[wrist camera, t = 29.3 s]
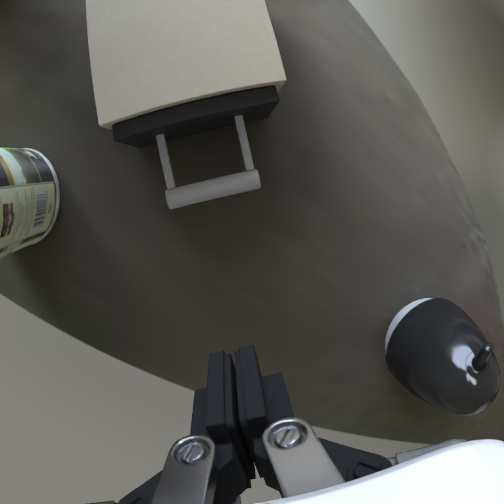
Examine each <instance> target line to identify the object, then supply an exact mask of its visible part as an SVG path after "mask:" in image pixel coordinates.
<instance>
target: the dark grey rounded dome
mask: <svg viewBox="0 0 504 504" xmlns="http://www.w3.org/2000/svg"><path fill="white" fill-rule="evenodd" d="M493 351H494V346H493V344H491V343H488V341H487V339H486V338H485V336H484V335H483V333H482V332H481V330H480V329H479V327H478V326H477V325H476V324H475V322H474V321H473V320H472V319H471V318H470V317H469V316H468V315H467V314H466V313H465V312H464V311H463V310H462V309H461V308H460V307H459V306H457V305H456V304H455V303H453V302H452V301H450V300H447V299H444V298H426V299H420V300H417V301H414V302H412V303H410V304H408V305H407V306H405V307H404V308H403V309H402V310H401V311H400V312H399V313H398V314H397V315H396V316H395V317H394V319H393V320H392V322H391V324H390V326H389V328H388V331H387V334H386V338H385V354H386V363H387V367H388V369H389V371H390V373H391V374H392V375H393V376H394V378H395V379H396V380H397V381H398V382H399V383H400V384H401V385H403V386H404V387H405V388H406V389H407V390H409V391H410V392H411V393H413V394H414V395H415V396H417V397H418V398H420V399H421V400H423V401H425V402H427V403H428V404H430V405H432V406H434V407H436V408H438V409H441V410H443V411H446V412H449V413H452V414H457V415H474V414H477V413H479V412H481V411H483V410H484V409H486V408H487V407H488V406H489V405H490V404H491V403H492V402H493V400H494V399H495V397H496V395H497V393H498V391H499V387H500V370H499V366H498V362H497V359H496V357H495V354H494V352H493Z"/></svg>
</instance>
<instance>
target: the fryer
mask: <svg viewBox="0 0 504 504" xmlns="http://www.w3.org/2000/svg"><path fill="white" fill-rule="evenodd" d="M86 15H87V31H88V44H89V54H90V64H91V73H92V81H93V88H94V95H95V102H96V109H97V115H98V121H99V126H101V127H104V128H107V129H110V130H112V131H113V129H112V125H114V124H117V123H120V122H123V121H126V120H129V119H132V118H135V117H137V116H139V115H142V114H145V113H149V112H152V111H156V110H159V109H163V108H166V107H170V106H174V105H178V104H181V103H185V102H189V101H193V100H198V99H202V98H206V97H211V96H215V95H220V94H225V93H230V92H235V91H240V90H245V89H251V88H254V89H255V88H261V87H267V86H274V85H275V86H276V89H277V93H278V92H279V90H280V89H281V87H282V86H283V84H284V83H285V82H286V80H287V79H286V76H285V72H284V68H283V64H282V60H281V56H280V53H279V49H278V45H277V42H276V38H275V34H274V31H273V27H272V24H271V20H270V17H269V14H268V10H267V7H266V4H265V0H86Z"/></svg>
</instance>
